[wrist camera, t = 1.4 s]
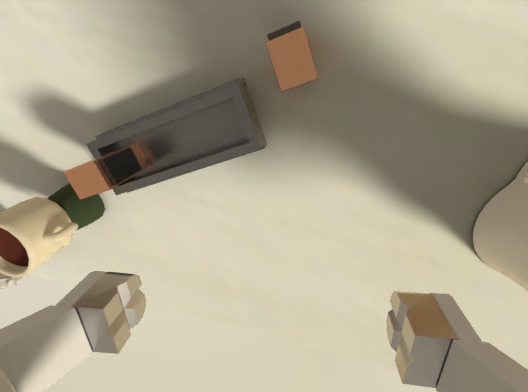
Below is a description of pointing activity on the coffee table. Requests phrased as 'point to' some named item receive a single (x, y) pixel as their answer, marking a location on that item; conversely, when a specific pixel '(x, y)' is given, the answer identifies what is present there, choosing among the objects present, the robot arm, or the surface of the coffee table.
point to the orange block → (291, 56)
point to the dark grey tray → (171, 142)
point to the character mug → (42, 228)
